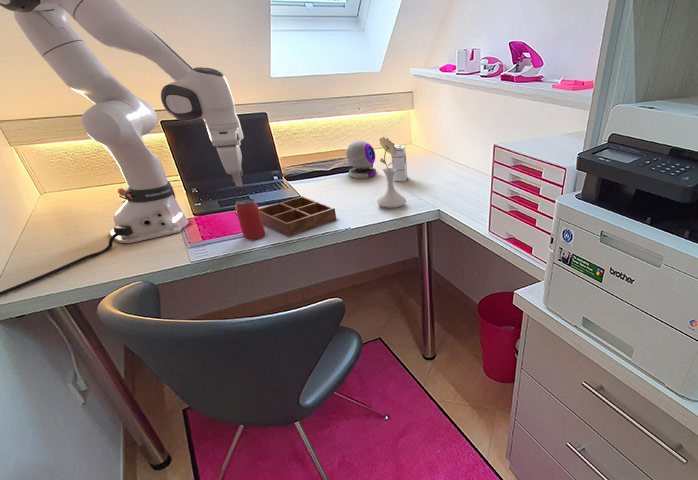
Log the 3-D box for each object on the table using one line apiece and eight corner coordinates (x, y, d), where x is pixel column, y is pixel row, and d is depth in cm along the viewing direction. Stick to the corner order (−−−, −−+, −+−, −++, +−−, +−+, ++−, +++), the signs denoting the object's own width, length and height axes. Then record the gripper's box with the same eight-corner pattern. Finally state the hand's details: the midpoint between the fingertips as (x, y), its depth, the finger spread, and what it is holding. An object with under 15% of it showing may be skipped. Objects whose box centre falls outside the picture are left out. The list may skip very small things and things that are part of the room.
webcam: (369, 179, 194) (366, 144, 186) (344, 176, 196) (339, 142, 188) (380, 171, 205) (377, 138, 196) (356, 169, 207) (352, 136, 198)
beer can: (257, 241, 137) (247, 205, 130) (239, 239, 138) (228, 203, 131) (269, 233, 142) (260, 198, 136) (252, 231, 143) (242, 197, 137)
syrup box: (405, 181, 193) (404, 148, 184) (393, 181, 193) (390, 147, 184) (407, 177, 197) (405, 145, 189) (394, 177, 197) (392, 144, 189)
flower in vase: (411, 207, 165) (407, 140, 151) (383, 212, 161) (377, 143, 146) (398, 197, 175) (394, 133, 160) (372, 201, 170) (365, 135, 156)
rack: (289, 236, 141) (286, 224, 138) (257, 222, 150) (254, 209, 148) (336, 220, 153) (334, 208, 151) (304, 207, 163) (302, 196, 160)
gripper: (216, 126, 129) (230, 172, 137) (210, 141, 113) (226, 192, 121) (238, 125, 131) (251, 171, 139) (236, 139, 115) (250, 189, 123)
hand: (239, 181), depth 130 cm, fingers open, 8 cm apart
